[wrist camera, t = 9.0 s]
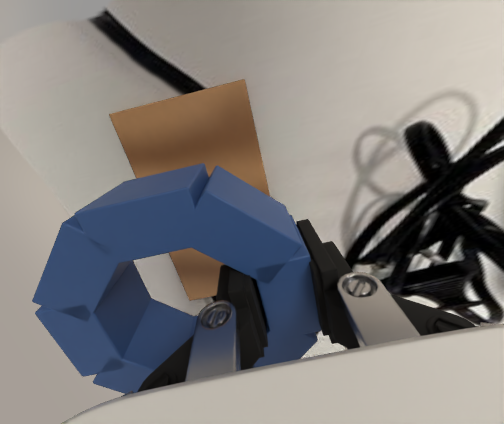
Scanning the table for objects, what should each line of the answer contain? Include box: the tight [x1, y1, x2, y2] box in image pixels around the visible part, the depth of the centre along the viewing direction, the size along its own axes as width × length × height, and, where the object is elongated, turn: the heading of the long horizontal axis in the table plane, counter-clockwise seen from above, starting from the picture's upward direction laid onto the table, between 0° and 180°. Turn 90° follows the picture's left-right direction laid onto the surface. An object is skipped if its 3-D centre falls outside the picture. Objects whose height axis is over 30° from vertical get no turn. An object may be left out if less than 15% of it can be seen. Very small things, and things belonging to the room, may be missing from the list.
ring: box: [32, 163, 321, 394], centre depth 11 cm, size 10×10×4 cm
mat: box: [109, 79, 270, 301], centre depth 19 cm, size 16×9×1 cm, turn 13°
